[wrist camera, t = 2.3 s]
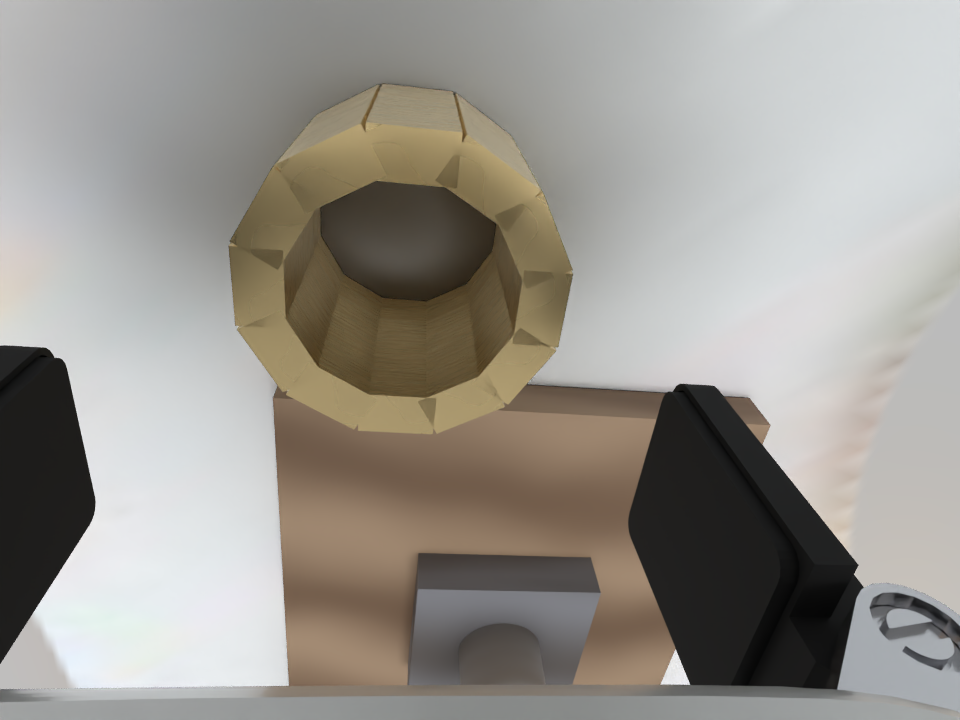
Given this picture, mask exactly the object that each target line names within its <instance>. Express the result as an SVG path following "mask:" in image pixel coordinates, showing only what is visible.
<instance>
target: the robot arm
mask: <svg viewBox="0 0 960 720" xmlns="http://www.w3.org/2000/svg"><path fill="white" fill-rule="evenodd" d="M94 512H95V496H94V491H93V486H92V482H91V477H90V473H89V468H88V463H87V459H86V454H85V450H84V445H83V440H82V436H81V431H80V427H79V422H78V418H77V413H76V408H75V404H74V399H73V395H72V390H71V385H70V381H69V376H68V372H67V368H66V365H65V363H64V361H63V360H62V359H60V358H54V356H53V354H52V353H51V351H50V350H48V349H47V348H40V347H23V346H0V664H1V662H2V660H3V659H4V657H5V656H6V654H7V653H8V651H9V650H10V648H11V646H12V645H13V643H14V642H15V640H16V638H17V637H18V635H19V634H20V632H21V631H22V629H23V628H24V626H25V625H26V623H27V621H28V620H29V618H30V617H31V615H32V614H33V612H34V611H35V609H36V607H37V606H38V604H39V603H40V601H41V600H42V598H43V597H44V595H45V593H46V592H47V590H48V589H49V587H50V586H51V584H52V583H53V581H54V579H55V578H56V576H57V575H58V573H59V572H60V570H61V569H62V567H63V565H64V564H65V562H66V561H67V559H68V558H69V556H70V554H71V553H72V551H73V550H74V548H75V547H76V545H77V544H78V542H79V540H80V539H81V537H82V536H83V534H84V533H85V531H86V530H87V528H88V526H89V525H90V523H91V521H92V519H93V516H94ZM628 529H629V534H630V537H631V540H632V542H633V545H634V547H635V550H636V552H637V555H638V557H639V559H640V562H641V564H642V567H643V569H644V572H645V574H646V577H647V579H648V582H649V584H650V587H651V589H652V591H653V594H654V596H655V599H656V601H657V604H658V606H659V609H660V611H661V614H662V616H663V619H664V621H665V623H666V626H667V628H668V631H669V633H670V636H671V638H672V641H673V643H674V646H675V648H676V650H677V653H678V655H679V658H680V660H681V663H682V665H683V668H684V670H685V673H686V675H687V678H688V680H689V682H690V685H371V686H240V687H151V688H71V689H1V690H0V720H960V616H959V615H958V614H957V613H955V612H954V611H953V610H951V609H950V608H949V607H947V606H946V605H945V604H942V603H941V602H939V601H937V600H936V599H934V598H932V597H930V596H928V595H926V594H925V593H922V592H919V591H917V590H914V589H911V588H908V587H905V586H901V585H896V584H890V583H879V584H871V585H869V586H867V587H865V588H864V587H863V586H862V584H861V583H860V582H859V581H858V579H857V578H856V577H855V575H854V573H855V571H856V569H857V567H858V564H857V563H856V561H855V560H854V559H853V558H852V556H851V555H850V554H849V553H848V551H847V550H846V549H845V548H844V546H843V545H842V544H841V543H840V541H839V540H838V539H837V538H836V536H835V535H834V534H833V533H832V531H831V530H830V529H829V528H828V526H827V525H826V524H825V523H824V521H823V520H822V519H821V518H820V516H819V515H818V514H817V513H816V511H815V510H814V509H813V508H812V506H811V505H810V504H809V503H808V501H807V500H806V499H805V498H804V496H803V495H802V494H801V493H800V491H799V490H798V489H797V488H796V486H795V485H794V484H793V483H792V481H791V480H790V479H789V478H788V476H787V475H786V474H785V473H784V471H783V470H782V469H781V468H780V466H779V465H778V464H777V463H776V461H775V460H774V459H773V458H772V456H771V455H770V454H769V453H768V451H767V450H766V449H765V448H764V446H763V445H762V444H761V443H760V441H759V440H758V439H757V438H756V436H755V435H754V434H753V433H752V431H751V430H750V429H749V428H748V426H747V425H746V424H745V423H744V421H743V420H742V419H741V418H740V416H739V415H738V414H737V413H736V411H735V410H734V409H733V408H732V406H731V405H730V404H729V403H728V401H727V400H726V399H725V398H724V396H723V395H722V394H721V393H720V391H719V390H718V389H717V388H716V387H715V386H709V385H691V384H679V385H677V386H676V388H675V389H674V391H673V392H667V393H666V394H665V395H664V397H663V399H662V402H661V406H660V409H659V413H658V416H657V419H656V423H655V426H654V430H653V433H652V437H651V440H650V444H649V447H648V450H647V454H646V457H645V461H644V464H643V468H642V471H641V475H640V478H639V481H638V485H637V488H636V492H635V495H634V499H633V502H632V506H631V509H630V512H629V517H628Z"/></svg>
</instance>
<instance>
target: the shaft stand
mask: <svg viewBox="0 0 960 720" xmlns="http://www.w3.org/2000/svg"><path fill="white" fill-rule="evenodd" d="M286 393H287V391H284V392H282V390H281V389H280V388H279V386H277V389H276V391H275V394H274V397H273V407H274V425H275V442H276V460H277V478H278V496H279V514H280V532H281V549H282V567H283V585H284V603H285V621H286V639H287V657H288V674H289V686H371V685H660V684H661V681H662V679H663V677H664V674H665V672H666V670H667V667H668V665H669V663H670V660H671V658H672V656H673V653H674V651H675V649H676V648H675V646H674V643H673V641H672V638H671V636H670V633H669V631H668V628H667V626H666V623H665V621H664V619H663V616H662V614H661V611H660V609H659V606H658V604H657V601H656V599H655V596H654V594H653V591H652V589H651V587H650V584H649V582H648V579H647V577H646V574H645V572H644V569H643V567H642V564H641V562H640V559H639V557H638V555H637V552H636V550H635V547H634V545H633V542H632V540H631V537H630V534H629V529H628V517H629V512H630V509H631V506H632V502H633V499H634V495H635V492H636V488H637V485H638V481H639V478H640V475H641V471H642V468H643V464H644V461H645V457H646V454H647V450H648V447H649V444H650V440H651V437H652V433H653V430H654V426H655V423H656V419H657V416H658V413H659V409H660V406H661V402H662V399H663V397H664V395H665V394H666V393H654V392H637V391H620V390H603V389H587V388H570V387H553V386H537V385H525V386H524V387H523V389H522V390H521V391H520V392H519V393H518V394H517V395H516V396H515V398H514V399H513V400H512V401H511V402H510V403H509V404H506V403H504V405H505V407H503V408H501V409H498V410H496V411H493V412H491V413H488V414H486V415H483V416H481V417H478V418H476V419H473V420H471V421H468V422H465V423H463V424H460V425H458V426H455V427H453V428H450V429H448V430H445V431H443V432H440V433H438V434H437V433H436V432H435V430H434V428H433V434H413V433H393V432H373V431H358V425H357V427H356V428H355V429H352V428H350V427H348V426H346V425H344V424H342V423H340V422H338V421H336V420H334V419H332V418H330V417H328V416H326V415H324V414H322V413H320V412H318V411H316V410H315V409H313V408H311V407H309V406H307V405H305V404H303V403H301V402H299V401H297V400H295V399H293V398H291V397H289V396H287V395H286ZM724 398H725V399H726V400H727V401H728V403H729V404H730V405H731V406H732V408H733V409H734V410H735V411H736V413H737V414H738V415H739V416H740V418H741V419H742V420H743V421H744V423H745V424H746V425H747V426H748V428H749V429H750V430H751V431H752V433H753V434H754V435H755V436H756V438H757V439H758V440H759V441H760V443H761V444H763V442H764V439H765V437H766V435H767V432H768V430H769V428H770V424H769V423H768V421H767V420H766V419H765V418H764V416H763V415H762V414H761V412H760V411H759V410H758V409H757V407H756V406H755V405H754V403H753V402H752V401H751V400H750V398H737V397H724Z"/></svg>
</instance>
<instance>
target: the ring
mask: <svg viewBox="0 0 960 720" xmlns="http://www.w3.org/2000/svg"><path fill="white" fill-rule="evenodd" d="M375 181H384V182H394V183H405V184H415V185H425V186H436V187H445V188H447V189H448V190H450V191H451V192H452V193H454V194H455V195H457V196H458V197H459V198H461V199H462V200H464V201H465V202H467V203H468V204H469V205H471V206H472V207H474V208H475V209H476V210H478V211H479V212H481V213H482V214H483V215H485V216H486V217H488V218H489V219H491V220H492V221H493V222H495V223H496V229H495V237H494V244H493V250H492V252H491V253H490V254H489V255H488V257H487V258H486V259H485V261H484V262H483V263H482V264H481V266H480V267H479V268H478V270H477V271H476V272H475V274H474V275H473V276H472V277H471V279H470V280H469V281H468V283H467V284H465V285H463V286H461V287H458V288H456V289H454V290H451V291H449V292H447V293H444V294H442V295H440V296H437V297H435V298H433V299H430V300H428V301H417V300H404V299H390V298H382V297H380V296H379V295H377V294H375V293H374V292H372V291H370V290H369V289H367V288H365V287H364V286H362V285H360V284H359V283H357V282H356V281H354V280H352V279H351V278H349V277H347V276H346V275H344V273H343V272H342V270H341V268H340V267H339V265H338V263H337V262H336V260H335V258H334V257H333V255H332V253H331V252H330V250H329V248H328V247H327V245H326V243H325V242H324V240H323V238H322V236H321V206H323V205H326V204H328V203H330V202H332V201H334V200H336V199H338V198H341V197H343V196H345V195H347V194H349V193H351V192H354V191H356V190H358V189H360V188H362V187H364V186H366V185H369V184H371V183H373V182H375ZM230 242H231V243H230V245H229V257H230V268H231V280H232V292H233V303H234V315H235V326H239V327H238V328H237V330H238V332H239V333H240V334H241V336H242V337H243V338H244V340H245V341H246V343H247V344H248V345H249V347H250V348H251V349H252V351H253V352H254V353H255V355H256V356H257V358H258V359H259V360H260V362H261V363H262V364H263V366H264V367H265V369H266V370H267V371H268V373H269V374H270V375H271V377H272V378H273V380H274V381H275V382H276V384H277V385H278V386H279V388H280V389H281V390H282V392H284V391H287V393H286V395H287V396H289V397H291V398H293V399H295V400H297V401H299V402H301V403H303V404H305V405H307V406H309V407H311V408H313V409H315V410H316V411H318V412H320V413H322V414H324V415H326V416H328V417H330V418H332V419H334V420H336V421H338V422H340V423H342V424H344V425H346V426H348V427H350V428H352V429H355V428H356V427H357V425H358V431H373V432H393V433H413V434H433V428H434V430H435V432H436V433H437V434H438V433H440V432H443V431H445V430H448V429H450V428H453V427H455V426H458V425H460V424H463V423H465V422H468V421H471V420H473V419H476V418H478V417H481V416H483V415H486V414H488V413H491V412H493V411H496V410H498V409H501V408H503V407H505V405H504V403H506V404H509V403H510V402H511V401H512V400H513V399H514V398H515V396H516V395H517V394H518V393H519V392H520V391H521V390H522V389H523V387H524V386H525V385H526V384H527V383H528V382H529V381H530V380H531V379H532V377H533V376H534V375H535V374H536V373H537V372H538V371H539V370H540V368H541V367H542V366H543V365H544V364H545V363H546V362H547V361H548V359H549V358H550V357H551V356H552V355H553V354H554V353H555V352H556V349H555V347H558V345H559V340H560V335H561V330H562V325H563V321H564V316H565V311H566V306H567V301H568V296H569V291H570V286H571V281H572V276H573V273H572V271H571V270H572V267H571V264H570V262H569V259H568V257H567V254H566V251H565V249H564V246H563V244H562V241H561V238H560V236H559V233H558V230H557V228H556V225H555V223H554V220H553V217H552V215H551V212H550V210H549V207H548V204H547V202H546V199H545V196H544V194H543V192H542V190H541V188H540V187H539V185H538V183H537V181H536V179H535V178H534V176H533V174H532V172H531V170H530V169H529V167H528V165H527V163H526V161H525V159H524V158H523V156H522V154H521V152H520V150H519V149H518V147H517V145H516V143H515V141H514V140H513V138H512V137H511V135H510V134H508V133H507V132H506V131H505V130H503V129H502V128H501V127H499V126H498V125H497V124H496V123H494V122H493V121H492V120H490V119H489V118H488V117H487V116H485V115H484V114H483V113H481V112H480V111H479V110H478V109H476V108H475V107H474V106H472V105H471V104H470V103H469V102H467V101H466V100H465V99H463V98H462V97H461V96H460V95H458V94H457V93H456V94H455V95H453V91H445V90H436V89H427V88H419V87H410V86H401V85H392V84H384V83H383V84H382V86H381V87H380V85H379V84H378V85H376V86H374V87H372V88H370V89H368V90H366V91H364V92H362V93H360V94H358V95H355V96H353V97H351V98H349V99H347V100H345V101H343V102H341V103H339V104H337V105H335V106H333V107H331V108H329V109H327V110H325V111H323V112H321V113H319V114H317V115H316V116H315V117H314V118H313V119H312V120H311V122H310V123H309V124H308V125H307V126H306V128H305V129H304V130H303V131H302V132H301V134H300V135H299V136H298V137H297V138H296V140H295V141H294V142H293V143H292V144H291V145H290V147H289V148H288V149H287V150H286V151H285V153H284V154H283V155H282V156H281V157H280V159H279V160H278V161H277V162H276V163H275V165H274V166H273V167H272V169H271V170H270V172H269V174H268V176H267V177H266V179H265V181H264V183H263V184H262V186H261V188H260V190H259V191H258V193H257V195H256V196H255V198H254V200H253V202H252V203H251V205H250V207H249V209H248V210H247V212H246V214H245V216H244V217H243V219H242V221H241V223H240V224H239V226H238V228H237V229H236V231H235V233H234V235H233V236H232V238H231V240H230Z"/></svg>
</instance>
